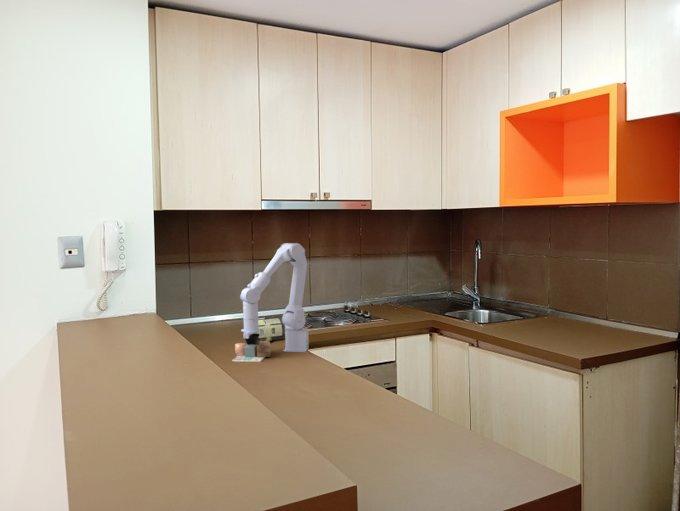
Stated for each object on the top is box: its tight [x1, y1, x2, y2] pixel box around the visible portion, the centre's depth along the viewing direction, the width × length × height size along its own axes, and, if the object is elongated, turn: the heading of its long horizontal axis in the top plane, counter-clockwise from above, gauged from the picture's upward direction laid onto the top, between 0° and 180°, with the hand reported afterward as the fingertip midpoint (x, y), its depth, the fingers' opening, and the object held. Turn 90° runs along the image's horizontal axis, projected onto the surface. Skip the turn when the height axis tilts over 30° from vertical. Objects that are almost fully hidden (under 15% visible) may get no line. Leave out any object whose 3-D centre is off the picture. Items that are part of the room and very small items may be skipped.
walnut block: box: [256, 344, 272, 358], centre depth 211 cm, size 5×3×4 cm, turn 113°
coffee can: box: [255, 317, 285, 344], centre depth 239 cm, size 10×10×14 cm
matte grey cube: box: [244, 343, 258, 357], centre depth 211 cm, size 4×4×4 cm
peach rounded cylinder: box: [258, 341, 271, 346], centre depth 216 cm, size 4×4×4 cm
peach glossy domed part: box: [234, 342, 247, 357], centre depth 213 cm, size 4×4×4 cm
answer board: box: [231, 356, 266, 363], centre depth 212 cm, size 11×14×1 cm
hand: (252, 352), depth 213 cm, fingers closed, pressing on matte grey cube
